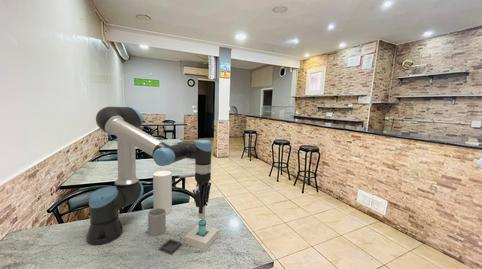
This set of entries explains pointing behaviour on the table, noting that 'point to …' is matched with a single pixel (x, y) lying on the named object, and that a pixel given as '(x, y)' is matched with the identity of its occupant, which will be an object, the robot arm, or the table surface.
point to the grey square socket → (170, 247)
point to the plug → (202, 228)
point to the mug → (156, 221)
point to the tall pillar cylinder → (162, 190)
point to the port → (200, 241)
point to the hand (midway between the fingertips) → (201, 218)
